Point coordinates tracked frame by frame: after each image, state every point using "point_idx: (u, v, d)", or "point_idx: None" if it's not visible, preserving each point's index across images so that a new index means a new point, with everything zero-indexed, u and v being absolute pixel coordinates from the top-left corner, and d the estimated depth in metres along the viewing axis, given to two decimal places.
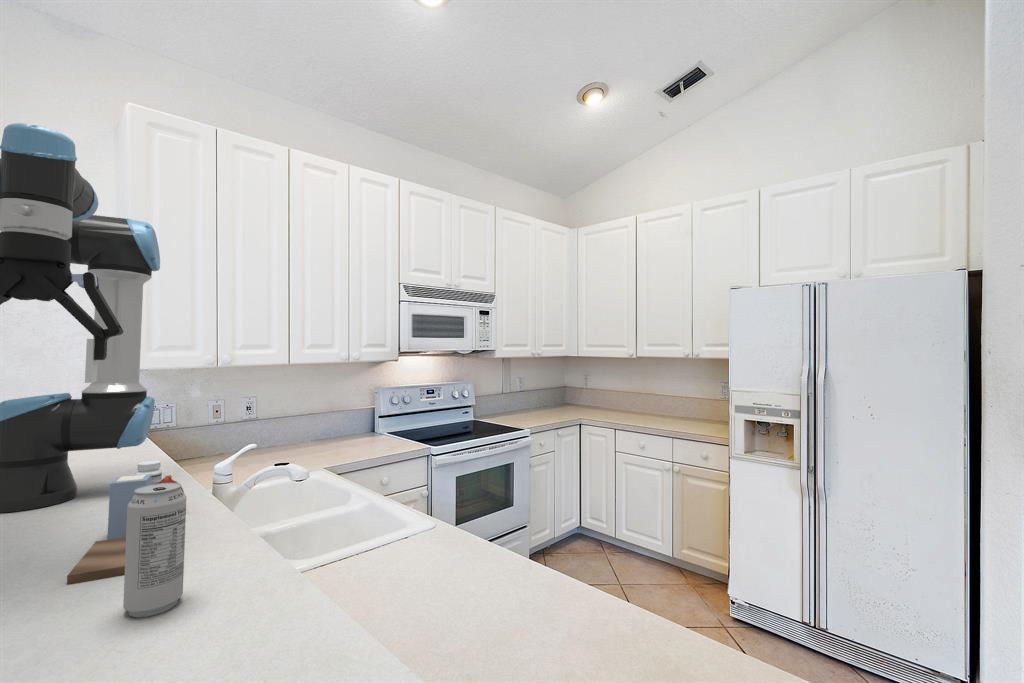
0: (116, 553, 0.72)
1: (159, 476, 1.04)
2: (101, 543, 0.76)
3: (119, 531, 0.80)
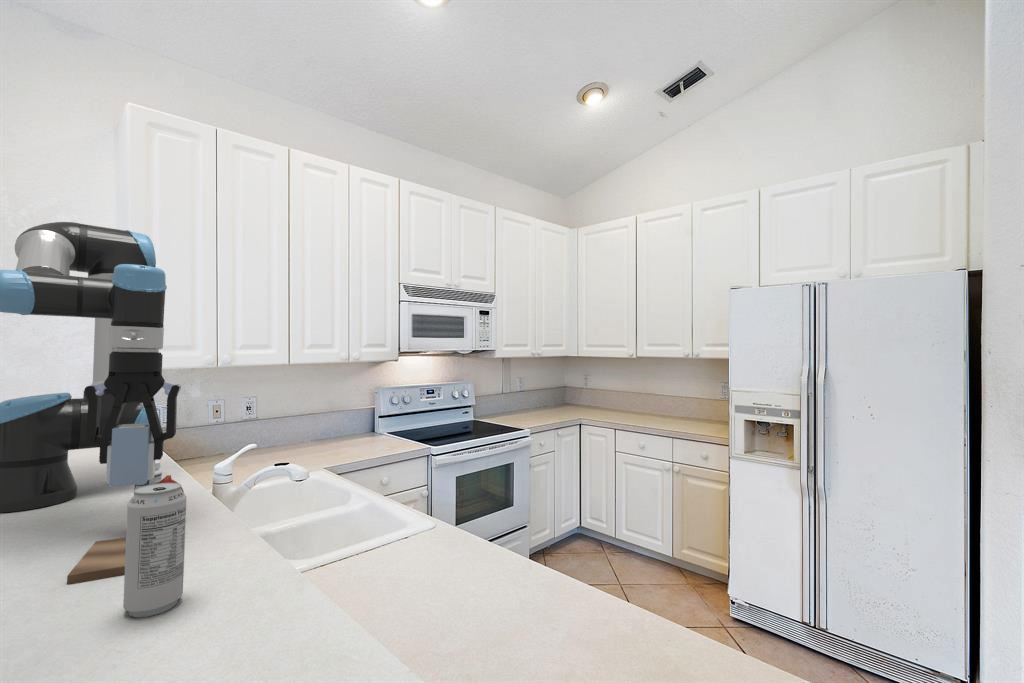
0: (116, 553, 0.72)
1: (159, 476, 1.04)
2: (101, 543, 0.76)
3: (121, 476, 0.81)
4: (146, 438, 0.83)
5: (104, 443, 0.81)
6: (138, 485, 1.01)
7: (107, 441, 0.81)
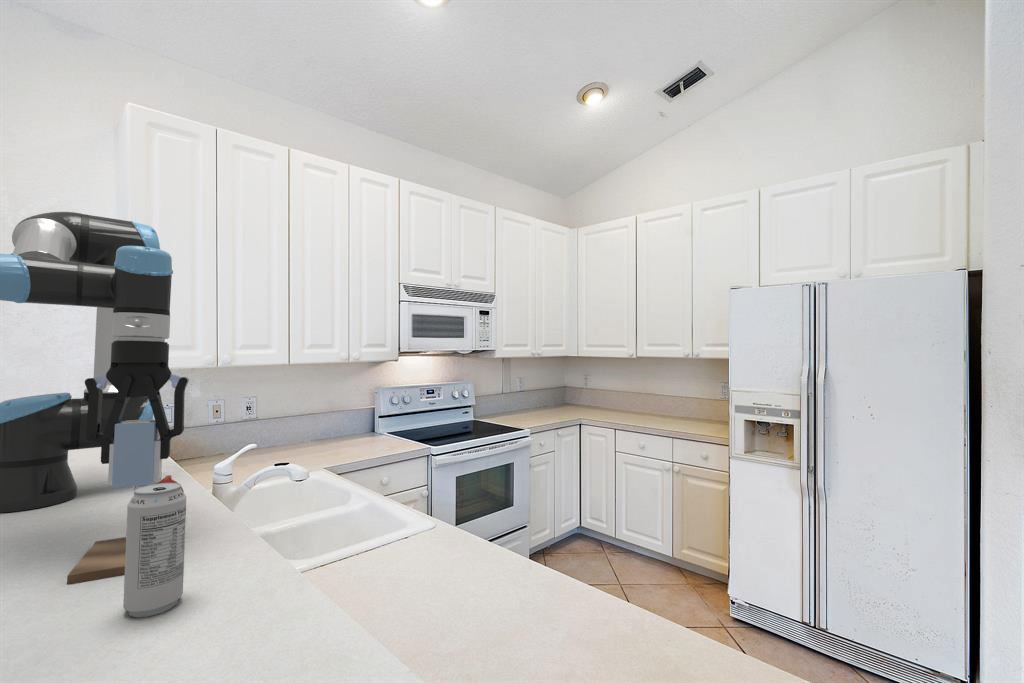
0: (116, 553, 0.72)
1: None
2: (101, 543, 0.76)
3: (124, 476, 0.74)
4: (152, 434, 0.76)
5: (106, 441, 0.74)
6: None
7: (109, 439, 0.74)
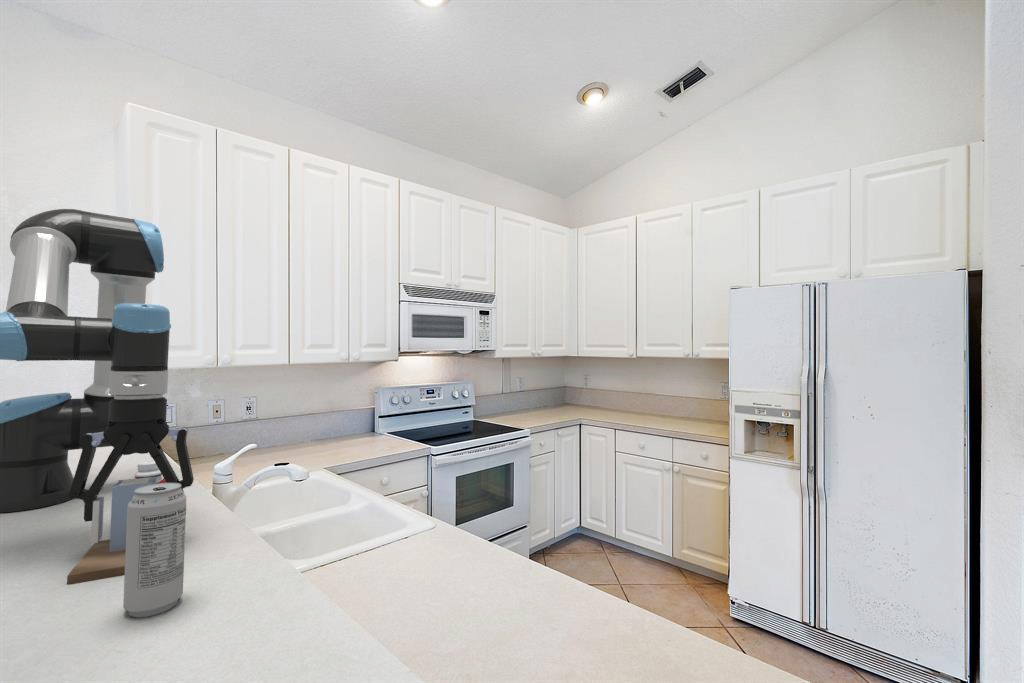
0: (116, 553, 0.72)
1: (159, 476, 1.04)
2: (101, 543, 0.76)
3: (122, 539, 0.73)
4: None
5: (89, 498, 0.73)
6: None
7: (93, 496, 0.73)
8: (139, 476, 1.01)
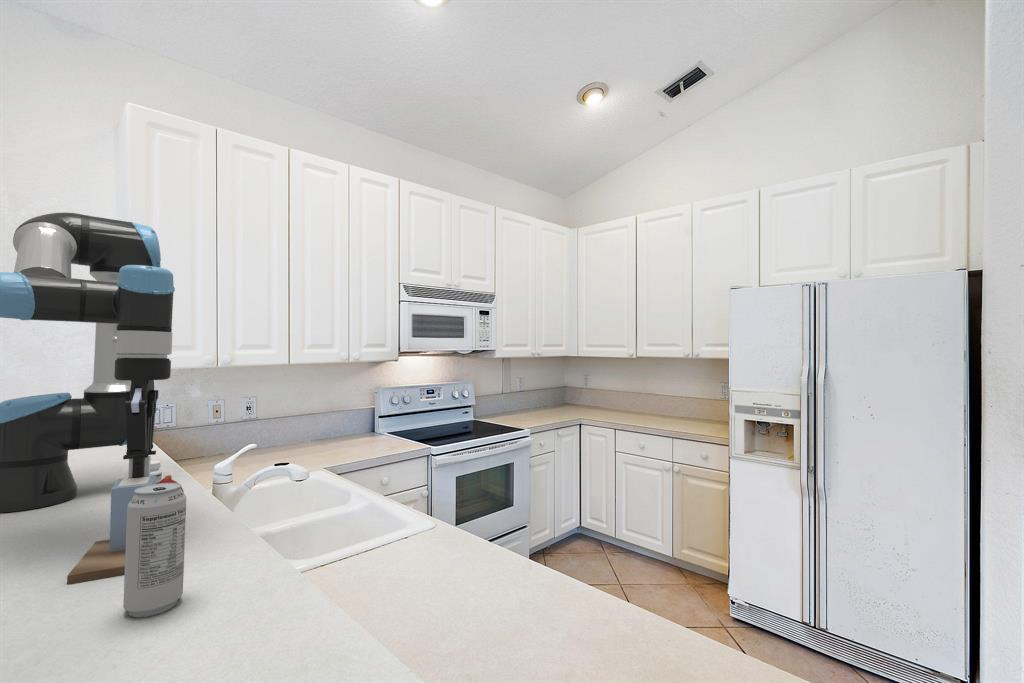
0: (116, 553, 0.72)
1: (159, 476, 1.04)
2: (101, 543, 0.76)
3: (122, 539, 0.73)
4: None
5: None
6: None
7: None
8: None
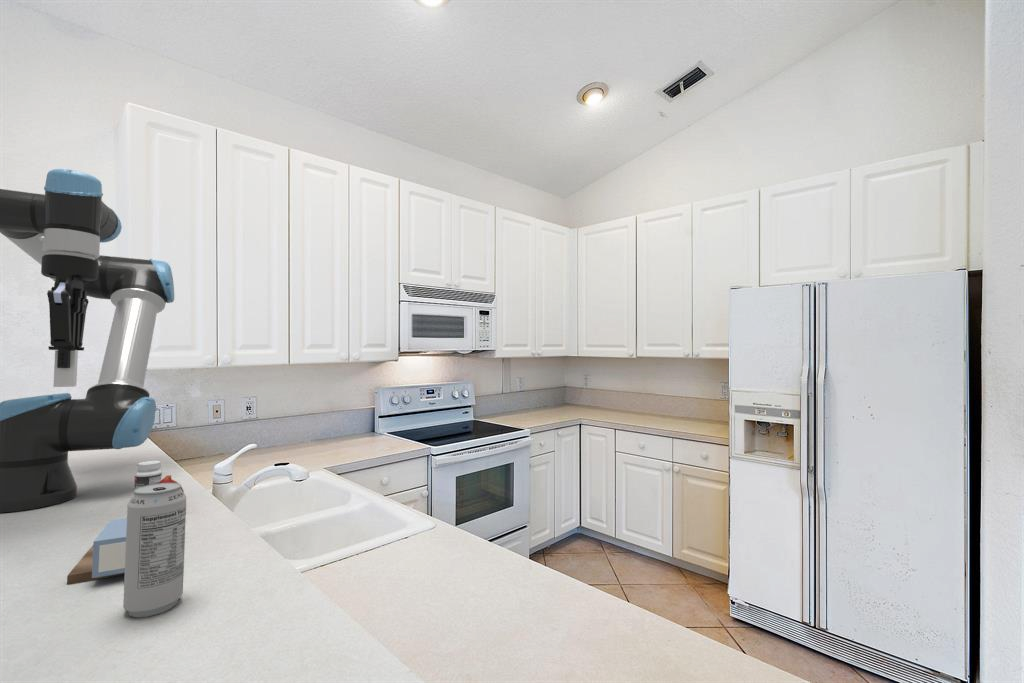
0: None
1: (159, 476, 1.04)
2: None
3: None
4: None
5: None
6: (138, 485, 1.01)
7: None
8: (139, 476, 1.01)
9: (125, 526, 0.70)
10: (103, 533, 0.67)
